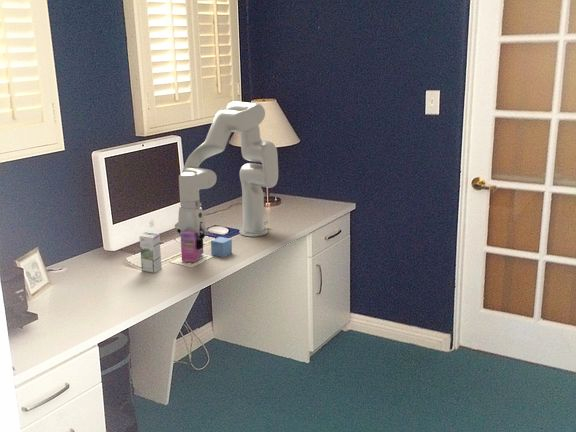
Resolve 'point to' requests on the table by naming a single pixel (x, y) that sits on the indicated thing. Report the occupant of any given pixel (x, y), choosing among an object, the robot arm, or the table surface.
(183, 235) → the box
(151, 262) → the syrup box
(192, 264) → the letter
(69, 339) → the table surface
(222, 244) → the blue cube
